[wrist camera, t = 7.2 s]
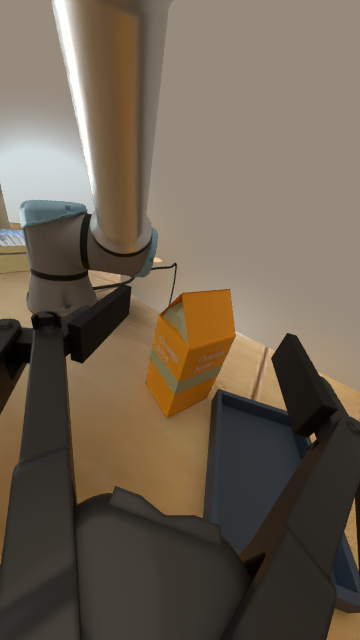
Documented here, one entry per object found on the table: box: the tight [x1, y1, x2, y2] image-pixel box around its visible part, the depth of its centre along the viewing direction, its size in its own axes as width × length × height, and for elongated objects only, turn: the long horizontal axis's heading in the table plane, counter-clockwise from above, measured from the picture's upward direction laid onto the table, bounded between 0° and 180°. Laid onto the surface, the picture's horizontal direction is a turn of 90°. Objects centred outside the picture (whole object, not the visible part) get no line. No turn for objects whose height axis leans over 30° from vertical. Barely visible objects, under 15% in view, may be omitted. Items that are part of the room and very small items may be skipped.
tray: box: [203, 389, 360, 613], centre depth 26 cm, size 19×15×3 cm
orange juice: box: [146, 289, 236, 418], centre depth 30 cm, size 8×9×20 cm
